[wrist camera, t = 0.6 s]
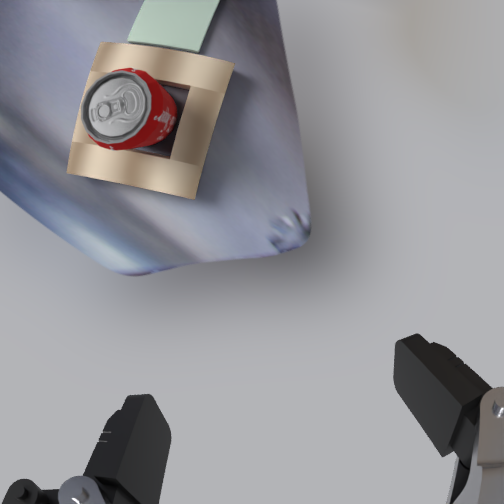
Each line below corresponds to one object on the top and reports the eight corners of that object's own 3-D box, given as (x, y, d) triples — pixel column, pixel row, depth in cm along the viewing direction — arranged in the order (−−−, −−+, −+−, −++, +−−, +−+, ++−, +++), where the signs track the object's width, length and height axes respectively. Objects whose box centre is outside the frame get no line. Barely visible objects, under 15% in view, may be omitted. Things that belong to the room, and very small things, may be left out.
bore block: (78, 169, 27) (66, 172, 24) (109, 49, 22) (100, 41, 20) (195, 193, 30) (194, 199, 28) (232, 70, 26) (235, 63, 23)
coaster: (128, 42, 23) (126, 40, 22) (154, -14, 20) (153, -17, 19) (198, 53, 25) (198, 51, 24) (222, -4, 22) (222, -7, 21)
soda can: (172, 81, 25) (152, 50, 14) (183, 136, 28) (168, 137, 17) (116, 98, 25) (67, 82, 14) (127, 152, 28) (83, 164, 17)
